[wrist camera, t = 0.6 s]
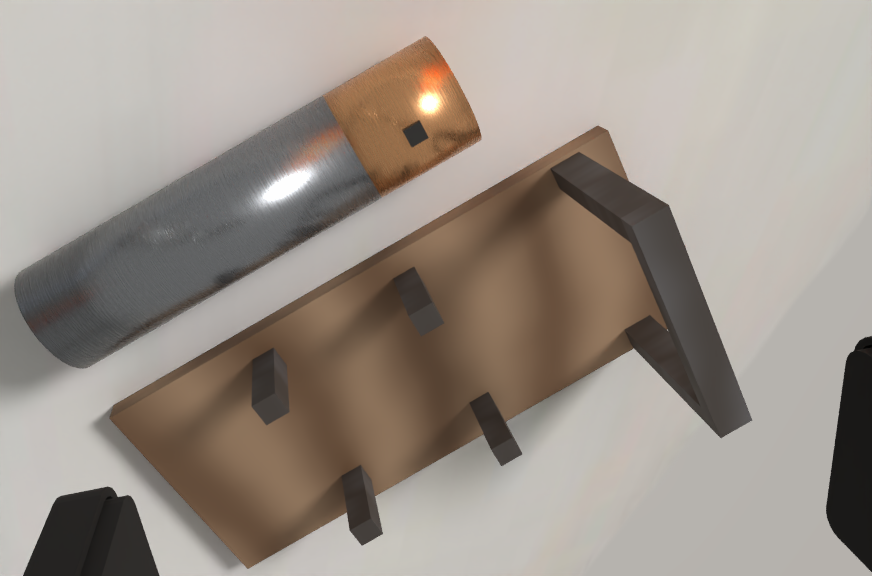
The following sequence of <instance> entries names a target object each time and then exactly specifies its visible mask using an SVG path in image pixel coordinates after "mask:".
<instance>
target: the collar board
mask: <svg viewBox="0 0 872 576" xmlns="http://www.w3.org/2000/svg"><path fill="white" fill-rule="evenodd" d="M667 329H668V331H669V332H668V331H667ZM633 348H634V349H635V350H636V351H637V352H638V353H639V354H640V355H641V356H642V357H643V358H644V359H645V360H646V361H647V362H648V363H649V364H650V365H651V366H652V367H653V368H654V369H655V370H656V371H657V373H658V374H659V375H660V376H661V377H662V378H663V379H664V380H665V381H666V382H667V383H668V384H669V385H670V386H671V387H672V388H673V389H674V390H675V391H676V392H677V393H678V394H679V395H680V396H681V397H682V398H683V399H684V401H685V402H686V403H687V404H688V405H689V406H690V407H691V408H692V409H693V410H694V411H695V412H696V413H697V414H698V415H699V416H700V417H701V418H702V419H703V420H704V421H705V422H706V423H707V424H708V425H709V426H710V427H711V428H712V430H713V431H714V432H715V433H716V434H717V435H718V436H719V437H720V438H722V437H724V436H725V435H727V434H729V433H731V432H732V431H734V430H736V429H738V428H739V427H741V426H743V425H745V424H746V423H748V422H750V421H752V418H751V416H750V413H749V411H748V408H747V406H746V403H745V400H744V398H743V396H742V393H741V390H740V388H739V385H738V382H737V380H736V377H735V375H734V372H733V369H732V367H731V364H730V362H729V359H728V357H727V354H726V351H725V349H724V346H723V344H722V341H721V338H720V336H719V333H718V331H717V328H716V326H715V323H714V320H713V318H712V315H711V313H710V310H709V308H708V305H707V302H706V300H705V297H704V295H703V292H702V290H701V287H700V284H699V282H698V279H697V277H696V274H695V271H694V269H693V266H692V264H691V261H690V259H689V256H688V253H687V251H686V248H685V246H684V243H683V241H682V238H681V235H680V233H679V230H678V228H677V225H676V223H675V220H674V217H673V215H672V212H671V210H670V207H669V205H668V204H666V203H664V202H663V201H661V200H659V199H658V198H656V197H654V196H652V195H651V194H649V193H647V192H646V191H644V190H642V189H641V188H639V187H637V186H636V185H634V184H632V183H631V182H629V181H628V178H627V176H626V173H625V171H624V168H623V166H622V163H621V161H620V159H619V156H618V154H617V151H616V149H615V146H614V144H613V141H612V139H611V137H610V134H609V132H608V130H606V129H604V128H602V127H600V126H597V127H595V128H593V129H592V130H590V131H588V132H586V133H585V134H583V135H581V136H579V137H578V138H576V139H574V140H572V141H571V142H569V143H567V144H566V145H564V146H562V147H560V148H559V149H557V150H555V151H553V152H552V153H550V154H548V155H546V156H545V157H543V158H541V159H540V160H538V161H536V162H534V163H533V164H531V165H529V166H527V167H526V168H524V169H522V170H521V171H519V172H517V173H515V174H514V175H512V176H510V177H508V178H507V179H505V180H503V181H501V182H500V183H498V184H496V185H495V186H493V187H491V188H489V189H488V190H486V191H484V192H482V193H481V194H479V195H477V196H475V197H474V198H472V199H470V200H469V201H467V202H465V203H463V204H462V205H460V206H458V207H456V208H455V209H453V210H451V211H450V212H448V213H446V214H444V215H443V216H441V217H439V218H437V219H436V220H434V221H432V222H430V223H429V224H427V225H425V226H424V227H422V228H420V229H418V230H417V231H415V232H413V233H411V234H410V235H408V236H406V237H404V238H403V239H401V240H399V241H398V242H396V243H394V244H392V245H391V246H389V247H387V248H385V249H384V250H382V251H380V252H378V253H377V254H375V255H373V256H372V257H370V258H368V259H366V260H365V261H363V262H361V263H359V264H358V265H356V266H354V267H353V268H351V269H349V270H347V271H346V272H344V273H342V274H340V275H339V276H337V277H335V278H333V279H332V280H330V281H328V282H327V283H325V284H323V285H321V286H320V287H318V288H316V289H314V290H313V291H311V292H309V293H307V294H306V295H304V296H302V297H301V298H299V299H297V300H295V301H294V302H292V303H290V304H288V305H287V306H285V307H283V308H282V309H280V310H278V311H276V312H275V313H273V314H271V315H269V316H268V317H266V318H264V319H262V320H261V321H259V322H257V323H256V324H254V325H252V326H250V327H249V328H247V329H245V330H243V331H242V332H240V333H238V334H236V335H235V336H233V337H231V338H230V339H228V340H226V341H224V342H223V343H221V344H219V345H217V346H216V347H214V348H212V349H210V350H209V351H207V352H205V353H204V354H202V355H200V356H198V357H197V358H195V359H193V360H191V361H190V362H188V363H186V364H185V365H183V366H181V367H179V368H178V369H176V370H174V371H172V372H171V373H169V374H167V375H165V376H164V377H162V378H160V379H159V380H157V381H155V382H153V383H152V384H150V385H148V386H146V387H145V388H143V389H141V390H139V391H138V392H136V393H134V394H133V395H131V396H129V397H127V398H126V399H124V400H122V401H120V402H119V403H117V404H115V405H114V406H113V409H112V412H111V415H110V418H109V419H110V420H111V421H112V422H113V423H114V424H115V425H116V426H117V427H118V428H119V429H120V430H121V432H122V433H123V434H124V435H125V436H126V437H127V438H128V439H129V440H130V441H131V442H132V444H133V445H134V446H135V447H136V448H137V449H138V450H139V451H140V452H141V453H142V454H143V456H144V457H145V458H146V459H147V460H148V461H149V462H150V463H151V464H152V465H153V466H154V467H155V469H156V470H157V471H158V472H159V473H160V474H161V475H162V476H163V477H164V478H165V479H166V481H167V482H168V483H169V484H170V485H171V486H172V487H173V488H174V489H175V490H176V491H177V492H178V494H179V495H180V496H181V497H182V498H183V499H184V500H185V501H186V502H187V503H188V504H189V506H190V507H191V508H192V509H193V510H194V511H195V512H196V513H197V514H198V515H199V516H200V517H201V519H202V520H203V521H204V522H205V523H206V524H207V525H208V526H209V527H210V528H211V529H212V531H213V532H214V533H215V534H216V535H217V536H218V537H219V538H220V539H221V540H222V541H223V542H224V544H225V545H226V546H227V547H228V548H229V549H230V550H231V551H232V552H233V553H234V554H235V556H236V557H237V558H238V559H239V560H240V561H241V562H242V563H243V564H244V565H245V566H246V568H247V569H248V568H250V567H252V566H254V565H255V564H257V563H259V562H261V561H262V560H264V559H266V558H268V557H269V556H271V555H273V554H275V553H276V552H278V551H280V550H282V549H283V548H285V547H287V546H289V545H290V544H292V543H294V542H296V541H297V540H299V539H301V538H303V537H304V536H306V535H308V534H310V533H311V532H313V531H315V530H317V529H318V528H320V527H322V526H324V525H325V524H327V523H329V522H331V521H332V520H334V519H336V518H338V517H339V516H341V515H343V514H345V513H346V512H347V515H348V522H349V528H350V531H351V533H352V534H353V535H354V536H355V538H356V539H357V540H358V541H359V543H360V544H361V545H364V544H366V543H368V542H369V541H371V540H373V539H375V538H376V537H378V536H380V535H382V534H383V532H382V528H381V523H380V518H379V513H378V509H377V504H376V499H375V496H376V495H378V494H380V493H381V492H383V491H385V490H387V489H388V488H390V487H392V486H394V485H395V484H397V483H399V482H401V481H402V480H404V479H406V478H408V477H409V476H411V475H413V474H415V473H416V472H418V471H420V470H422V469H423V468H425V467H427V466H429V465H430V464H432V463H434V462H436V461H437V460H439V459H441V458H443V457H444V456H446V455H448V454H450V453H451V452H453V451H455V450H457V449H458V448H460V447H462V446H464V445H465V444H467V443H469V442H471V441H472V440H474V439H476V438H478V437H479V436H481V435H483V434H484V435H485V437H486V440H487V442H488V444H489V446H490V448H491V450H492V452H493V453H494V455H495V457H496V458H497V460H498V461H499V463H500V465H501V466H503V465H504V464H506V463H508V462H510V461H511V460H513V459H515V458H517V457H518V456H520V455H522V452H521V450H520V449H519V447H518V445H517V443H516V441H515V439H514V437H513V435H512V433H511V432H510V430H509V428H508V426H507V424H506V421H507V420H509V419H511V418H513V417H514V416H516V415H518V414H520V413H521V412H523V411H525V410H527V409H528V408H530V407H532V406H534V405H535V404H537V403H539V402H541V401H542V400H544V399H546V398H548V397H549V396H551V395H553V394H555V393H556V392H558V391H560V390H562V389H563V388H565V387H567V386H569V385H570V384H572V383H574V382H576V381H577V380H579V379H581V378H583V377H584V376H586V375H588V374H590V373H591V372H593V371H595V370H597V369H598V368H600V367H602V366H604V365H605V364H607V363H609V362H611V361H612V360H614V359H616V358H618V357H619V356H621V355H623V354H625V353H626V352H628V351H630V350H632V349H633Z"/></svg>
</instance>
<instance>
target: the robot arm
mask: <svg viewBox="0 0 872 576" xmlns="http://www.w3.org/2000/svg"><path fill="white" fill-rule="evenodd" d="M826 514H827V518H828V521H829V524H830V526H831V528H832V530H833V532H834V533H835V534H836V536H837V537H838V538H839V539H840V540H841V541H842V542H843V543H844V544H845V545H846V546H847V547H848V548H849V549H850V550H851V551H852V552H853V553H854V554H855V555H856V556H857V557H858V558H859V560H860V561H861V562H863V563H864V564H865V566H866V567H867V568H868V569H869V570H870V571H871V572H872V336H870V337H865V338H864V339H862V340H860V341H859V342H858V344H857V345H856V347H855V350H854V351H853V352H851V353H850V354H849V355H848V357H847V360H846V366H845V372H844V380H843V387H842V395H841V402H840V409H839V417H838V424H837V432H836V439H835V446H834V454H833V461H832V469H831V476H830V483H829V491H828V498H827V505H826ZM23 576H159V573H158V570H157V567H156V565H155V562H154V559H153V556H152V553H151V550H150V547H149V544H148V541H147V538H146V535H145V532H144V529H143V526H142V523H141V520H140V517H139V514H138V511H137V508H136V505H135V503H134V500H133V499H132V497H131V496H128V495H127V496H122V497H117V495H116V493H115V491H114V490H113V489H112V488H110V487H104V488H99V489H94V490H89V491H84V492H79V493H74V494H68V495H63V496H60V497H58V498H57V499H56V501H55V502H54V504H53V506H52V508H51V511H50V513H49V515H48V518H47V520H46V522H45V525H44V527H43V530H42V532H41V534H40V537H39V539H38V541H37V544H36V546H35V549H34V551H33V553H32V556H31V558H30V560H29V563H28V565H27V567H26V570H25V572H24V575H23Z"/></svg>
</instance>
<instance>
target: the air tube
mask: <svg viewBox="0 0 872 576" xmlns="http://www.w3.org/2000/svg"><path fill="white" fill-rule="evenodd" d="M480 140H481V133H480V129H479V126H478V124H477V121H476V118H475V116H474V114H473V111H472V109H471V107H470V105H469V103H468V101H467V99H466V97H465V95H464V93H463V91H462V89H461V87H460V85H459V83H458V81H457V80H456V78H455V76H454V74H453V73H452V71H451V69H450V67H449V66H448V64H447V63H446V61H445V59H444V58H443V56H442V55H441V53H440V52H439V50H438V49H437V48H436V46H435V45H434V44H433V42H432V41H431V40H430V39H429V38H428V37H426V36H425V37H423V38H421V39H419V40H418V41H416V42H414V43H413V44H411V45H409V46H407V47H406V48H404V49H402V50H401V51H399V52H397V53H395V54H394V55H392V56H390V57H389V58H387V59H385V60H383V61H382V62H380V63H378V64H377V65H375V66H373V67H371V68H370V69H368V70H366V71H364V72H363V73H361V74H359V75H358V76H356V77H354V78H352V79H351V80H349V81H347V82H346V83H344V84H342V85H340V86H339V87H337V88H335V89H334V90H332V91H330V92H328V93H327V94H325V95H323V96H322V97H320V98H318V99H316V100H315V101H313V102H311V103H309V104H308V105H306V106H304V107H303V108H301V109H299V110H297V111H296V112H294V113H292V114H291V115H289V116H287V117H285V118H284V119H282V120H280V121H279V122H277V123H275V124H273V125H272V126H270V127H268V128H267V129H265V130H263V131H261V132H260V133H258V134H256V135H254V136H253V137H251V138H249V139H248V140H246V141H244V142H242V143H241V144H239V145H237V146H236V147H234V148H232V149H230V150H229V151H227V152H225V153H224V154H222V155H220V156H218V157H217V158H215V159H213V160H212V161H210V162H208V163H206V164H205V165H203V166H201V167H199V168H198V169H196V170H194V171H193V172H191V173H189V174H187V175H186V176H184V177H182V178H181V179H179V180H177V181H175V182H174V183H172V184H170V185H169V186H167V187H165V188H163V189H162V190H160V191H158V192H157V193H155V194H153V195H151V196H150V197H148V198H146V199H145V200H143V201H141V202H139V203H138V204H136V205H134V206H132V207H131V208H129V209H127V210H126V211H124V212H122V213H120V214H119V215H117V216H115V217H114V218H112V219H110V220H108V221H107V222H105V223H103V224H102V225H100V226H98V227H96V228H95V229H93V230H91V231H90V232H88V233H86V234H84V235H83V236H81V237H79V238H77V239H76V240H74V241H72V242H71V243H69V244H67V245H65V246H64V247H62V248H60V249H59V250H57V251H55V252H53V253H52V254H50V255H48V256H47V257H45V258H43V259H41V260H40V261H38V262H36V263H35V264H33V265H31V266H29V267H28V268H26V269H24V270H22V271H21V272H20V273H19V274H18V275H17V277H16V279H15V288H14V289H15V296H16V300H17V303H18V306H19V309H20V311H21V313H22V315H23V317H24V319H25V321H26V323H27V324H28V326H29V327H30V329H31V330H32V332H33V333H34V335H35V336H36V337H37V338H38V340H39V341H40V342H41V343H42V344H43V345H44V346H45V348H47V349H48V350H49V351H50V352H51V353H52V354H53V355H54V356H56V357H57V358H58V359H60V360H61V361H62V362H64V363H66V364H68V365H70V366H72V367H76V368H88V367H90V366H92V365H93V364H95V363H97V362H99V361H100V360H102V359H104V358H105V357H107V356H109V355H111V354H112V353H114V352H116V351H118V350H119V349H121V348H123V347H124V346H126V345H128V344H130V343H131V342H133V341H135V340H137V339H138V338H140V337H142V336H143V335H145V334H147V333H149V332H150V331H152V330H154V329H156V328H157V327H159V326H161V325H162V324H164V323H166V322H168V321H169V320H171V319H173V318H175V317H176V316H178V315H180V314H182V313H183V312H185V311H187V310H188V309H190V308H192V307H194V306H195V305H197V304H199V303H201V302H202V301H204V300H206V299H207V298H209V297H211V296H213V295H214V294H216V293H218V292H220V291H221V290H223V289H225V288H226V287H228V286H230V285H232V284H233V283H235V282H237V281H239V280H240V279H242V278H244V277H245V276H247V275H249V274H251V273H252V272H254V271H256V270H258V269H259V268H261V267H263V266H264V265H266V264H268V263H270V262H271V261H273V260H275V259H277V258H278V257H280V256H282V255H283V254H285V253H287V252H289V251H290V250H292V249H294V248H296V247H297V246H299V245H301V244H302V243H304V242H306V241H308V240H309V239H311V238H313V237H315V236H316V235H318V234H320V233H321V232H323V231H325V230H327V229H328V228H330V227H332V226H334V225H335V224H337V223H339V222H341V221H342V220H344V219H346V218H347V217H349V216H351V215H353V214H354V213H356V212H358V211H360V210H361V209H363V208H365V207H366V206H368V205H370V204H372V203H373V202H375V201H377V200H379V199H380V198H382V197H384V196H385V195H387V194H389V193H391V192H392V191H394V190H396V189H398V188H399V187H401V186H403V185H404V184H406V183H408V182H410V181H411V180H413V179H415V178H417V177H418V176H420V175H422V174H423V173H425V172H427V171H429V170H430V169H432V168H434V167H436V166H437V165H439V164H441V163H442V162H444V161H446V160H448V159H449V158H451V157H453V156H455V155H456V154H458V153H460V152H461V151H463V150H465V149H467V148H468V147H470V146H472V145H474V144H475V143H477V142H479V141H480Z"/></svg>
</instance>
